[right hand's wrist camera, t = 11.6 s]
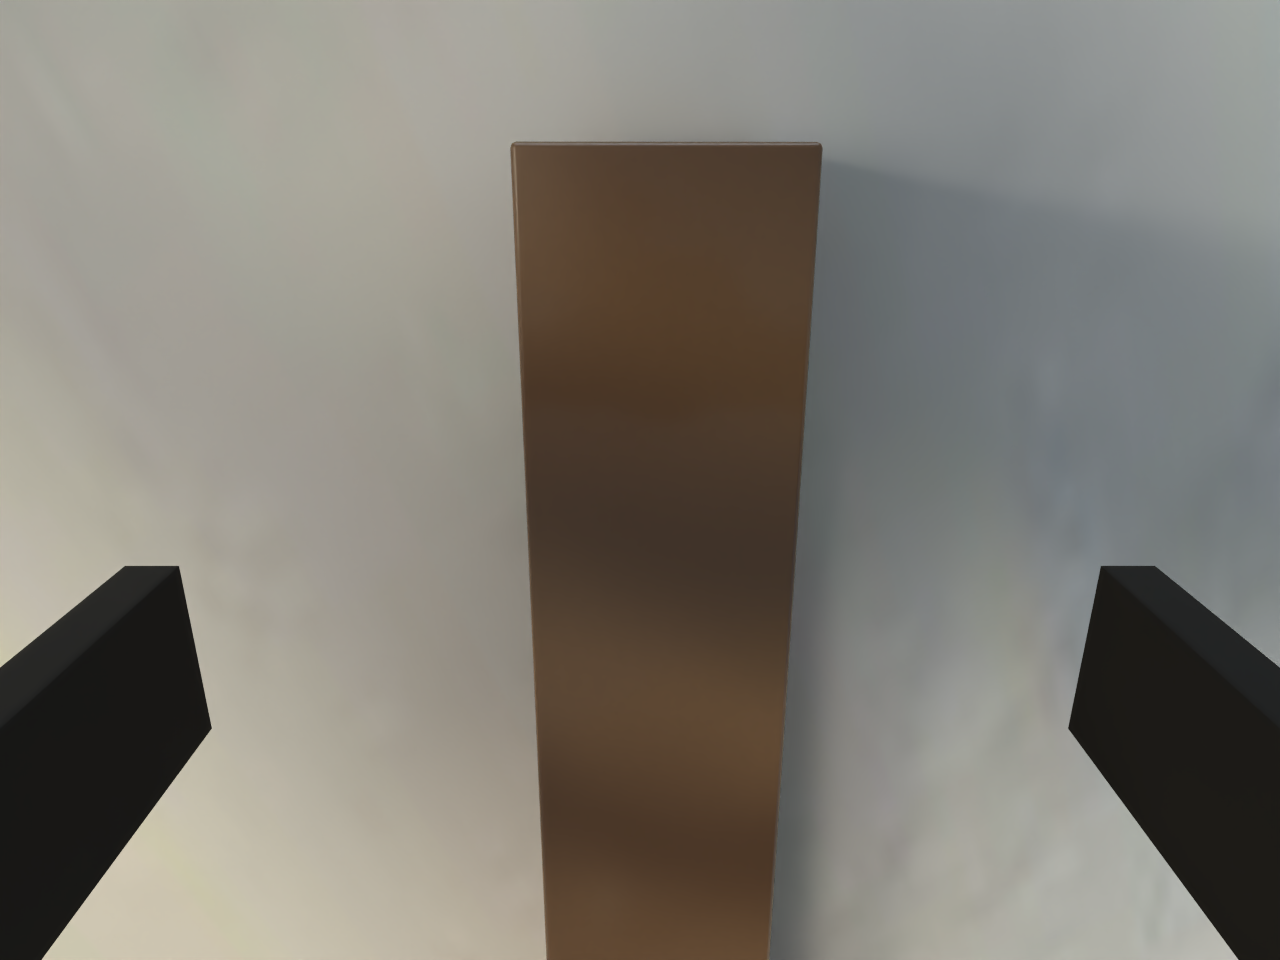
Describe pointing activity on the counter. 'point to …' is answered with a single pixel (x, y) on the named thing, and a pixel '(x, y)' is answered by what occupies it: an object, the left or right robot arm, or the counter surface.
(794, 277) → the bar
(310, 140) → the counter surface
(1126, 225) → the counter surface
